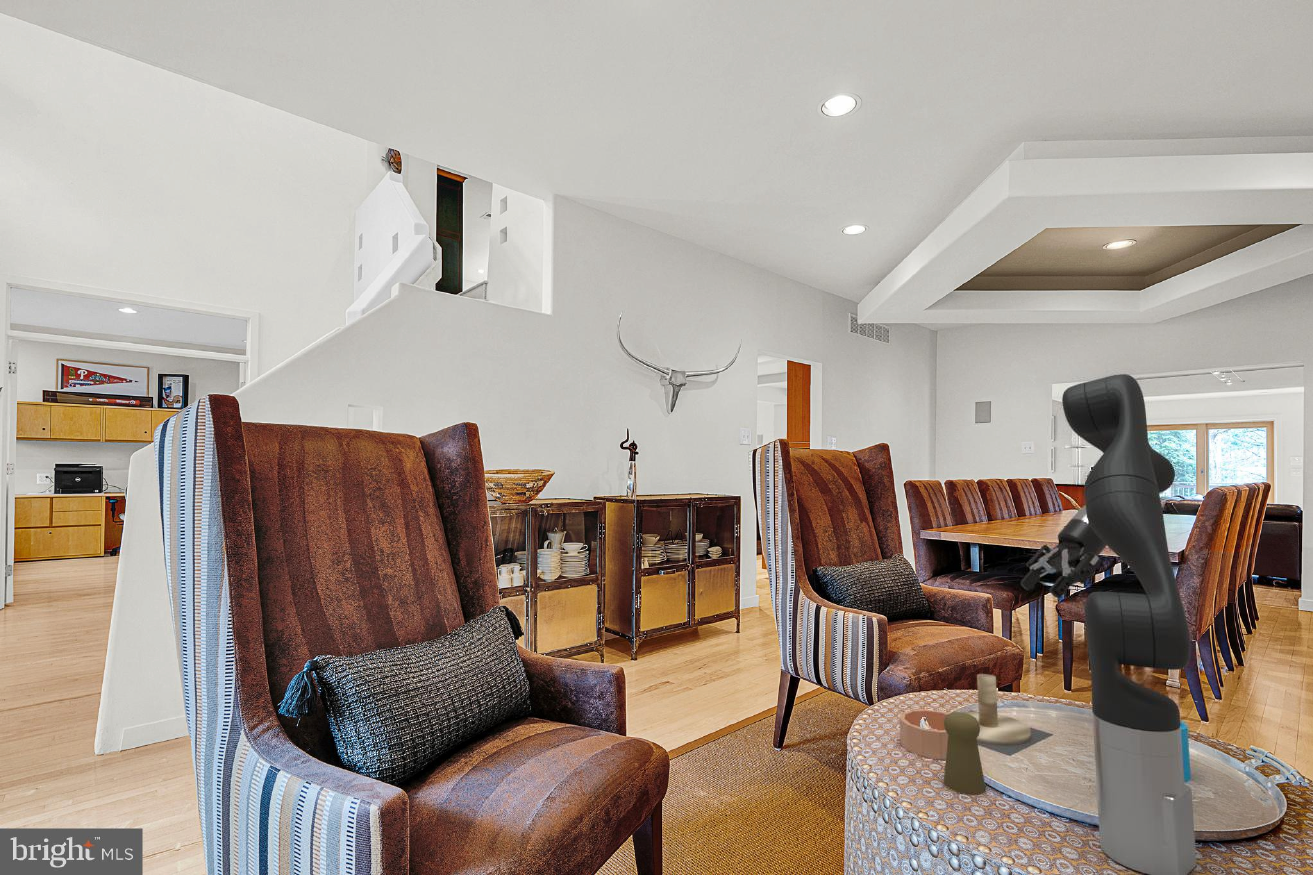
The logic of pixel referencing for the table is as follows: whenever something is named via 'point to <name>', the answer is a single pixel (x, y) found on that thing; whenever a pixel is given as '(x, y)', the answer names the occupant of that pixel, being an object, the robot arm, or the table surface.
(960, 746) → the olive pawn
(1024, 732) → the lid
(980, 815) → the table surface
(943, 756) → the bowl
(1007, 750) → the mat
